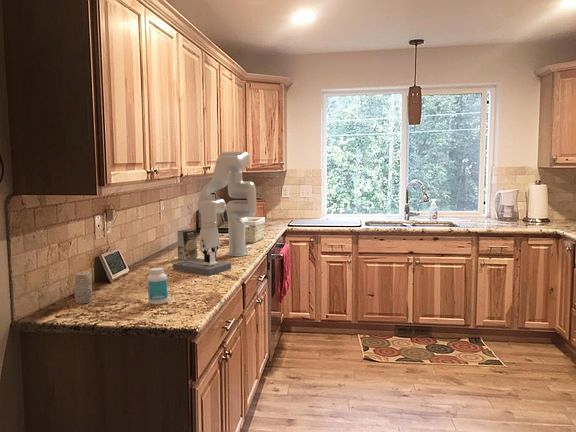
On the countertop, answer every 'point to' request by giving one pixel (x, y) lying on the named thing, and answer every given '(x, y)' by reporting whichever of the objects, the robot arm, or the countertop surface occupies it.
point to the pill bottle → (157, 287)
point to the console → (201, 267)
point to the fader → (211, 259)
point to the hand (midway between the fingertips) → (210, 261)
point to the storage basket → (254, 228)
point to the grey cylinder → (83, 287)
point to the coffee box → (187, 244)
